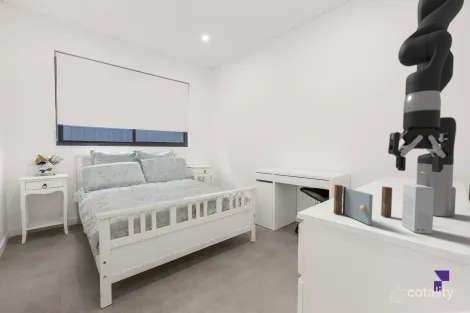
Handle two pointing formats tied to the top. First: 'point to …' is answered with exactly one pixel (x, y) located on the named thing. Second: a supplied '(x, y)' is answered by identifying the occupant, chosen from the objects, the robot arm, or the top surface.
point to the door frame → (385, 205)
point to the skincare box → (418, 208)
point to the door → (358, 205)
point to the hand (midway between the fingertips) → (418, 171)
